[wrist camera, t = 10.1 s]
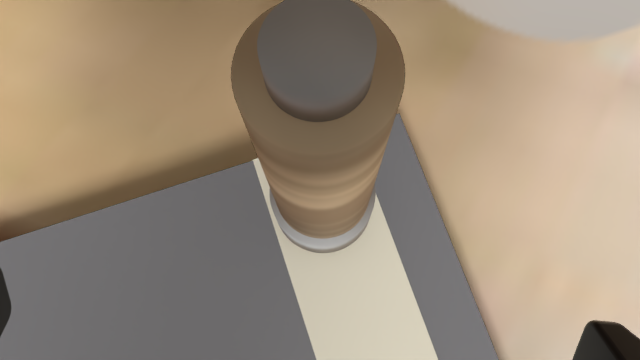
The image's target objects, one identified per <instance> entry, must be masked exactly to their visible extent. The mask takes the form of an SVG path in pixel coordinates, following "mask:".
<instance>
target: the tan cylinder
mask: <svg viewBox="0 0 640 360" xmlns="http://www.w3.org/2000/svg"><path fill="white" fill-rule="evenodd" d="M231 82H232V89H233V93H234V97H235V100H236V103H237V105H238V108H239V110H240V113H241V115H242V118H243V120H244V123H245V126H246V128H247V131H248V133H249V136H250V138H251V141H252V143H253V146H254V148H255V151H256V154H257V156H258V159H259V161H260V164H261V166H262V169H263V171H264V174H265V176H266V179H267V181H268V184H269V187H270V203H271V207H272V210H273V213H274V215H275V217H276V220H277V222H278V224H279V226H280V228H281V230H282V232H283V233H284V234H285V236H286V237H287V238H288V239H289V240H290V241H291V242H292V243H294V244H295V245H297V246H298V247H300V248H302V249H304V250H307V251H310V252H315V253H331V252H335V251H339V250H341V249H344V248H346V247H348V246H349V245H351V244H352V243H353V242H355V241H356V240H357V239H358V238H359V237H360V236H361V234H362V233H363V232H364V230H365V228H366V226H367V224H368V221H369V219H370V216H371V213H372V210H373V208H374V203H375V196H376V191H375V181H376V178H377V174H378V171H379V168H380V165H381V162H382V158H383V155H384V152H385V149H386V145H387V142H388V139H389V136H390V132H391V129H392V126H393V123H394V119H395V116H396V113H397V110H398V107H399V103H400V100H401V97H402V93H403V89H404V83H405V64H404V59H403V54H402V52H401V49H400V46H399V44H398V42H397V40H396V38H395V36H394V34H393V33H392V32H391V30H390V29H389V27H388V26H387V25H386V24H385V23H384V22H383V21H382V20H381V19H380V18H379V17H378V16H377V15H375V14H374V13H373V12H372V11H370V10H368V9H367V8H365V7H364V6H362V5H360V4H357V3H355V2H353V1H350V0H284V1H283V2H281V3H280V4H278V5H276V6H274V7H272V8H270V9H269V10H267V11H266V12H264V13H263V14H262V15H260V16H259V17H258V18H257V19H256V20H255V21H254V22H253V23H252V24H251V25H250V26H249V27H248V29H247V30H246V31H245V33H244V34H243V36H242V37H241V39H240V41H239V43H238V45H237V47H236V50H235V53H234V57H233V61H232V67H231Z"/></svg>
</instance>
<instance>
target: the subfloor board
mask: <svg viewBox="0 0 640 360" xmlns="http://www.w3.org/2000/svg"><path fill="white" fill-rule="evenodd" d="M375 191H376V196H375V203H374V208H373V210H372V213H371V216H370V219H369V221H368V224H367V226H366V228H365V230H364V232H363V233H362V234H361V236H360V237H359V238H358V239H357V240H356V241H355V242H353V243H352V244H351V245H349V246H348V247H346V248H344V249H341V250H339V251H335V252H331V253H315V252H310V251H307V250H304V249H302V248H300V247H298V246H297V245H295V244H294V243H292V242H291V241H290V240H289V239H288V238H287V237H286V236H285V234H284V233H283V232H282V230H281V228H280V226H279V224H278V222H277V220H276V217H275V215H274V213H273V210H272V207H271V203H270V187H269V184H268V181H267V179H266V176H265V174H264V171H263V169H262V166H261V164H260V161H259V159H258V158H256V159H253V161H250V162H247V163H244V164H240V165H237V166H234V167H231V168H228V169H225V170H222V171H219V172H216V173H213V174H209V175H206V176H203V177H200V178H197V179H194V180H191V181H188V182H185V183H182V184H178V185H175V186H172V187H169V188H166V189H163V190H160V191H157V192H154V193H151V194H147V195H144V196H141V197H138V198H135V199H132V200H129V201H126V202H123V203H120V204H116V205H113V206H110V207H107V208H104V209H101V210H98V211H95V212H92V213H89V214H85V215H82V216H79V217H76V218H73V219H70V220H67V221H64V222H61V223H57V224H54V225H51V226H48V227H45V228H42V229H39V230H36V231H33V232H30V233H26V234H23V235H20V236H17V237H14V238H11V239H8V240H5V241H2V242H0V268H1V269H2V272H3V275H4V279H5V282H6V286H7V289H8V293H9V297H10V300H11V315H10V318H9V320H8V323H7V325H6V327H5V329H4V331H3V333H2V335H1V337H0V360H499V359H498V357H497V354H496V352H495V349H494V347H493V344H492V342H491V339H490V337H489V334H488V332H487V329H486V327H485V324H484V322H483V320H482V317H481V315H480V312H479V310H478V307H477V305H476V302H475V300H474V297H473V295H472V292H471V290H470V287H469V285H468V282H467V280H466V277H465V275H464V272H463V270H462V267H461V265H460V263H459V260H458V258H457V255H456V253H455V250H454V248H453V245H452V243H451V240H450V238H449V235H448V233H447V230H446V228H445V225H444V223H443V220H442V218H441V215H440V213H439V210H438V208H437V206H436V203H435V201H434V198H433V196H432V193H431V191H430V188H429V186H428V183H427V181H426V178H425V176H424V173H423V171H422V168H421V166H420V163H419V161H418V158H417V156H416V154H415V151H414V149H413V146H412V144H411V141H410V139H409V136H408V134H407V131H406V129H405V126H404V124H403V121H402V119H401V116H400V114H396V116H395V119H394V123H393V126H392V129H391V132H390V136H389V139H388V142H387V145H386V149H385V152H384V155H383V158H382V162H381V165H380V168H379V171H378V174H377V178H376V181H375Z"/></svg>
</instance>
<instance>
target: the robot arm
mask: <svg viewBox="0 0 640 360" xmlns="http://www.w3.org/2000/svg"><path fill="white" fill-rule="evenodd" d="M10 315H11V300H10V297H9V293H8V289H7V286H6V282H5V279H4V275H3V272H2V269H1V268H0V337H1V335H2V333H3V331H4V329H5V327H6V325H7V323H8V320H9V318H10ZM573 360H640V339H639V338H638V337H636V336H635V335H634V334H633V333H631V332H630V331H629V330H628V329H626V328H625V327H624V326H622V325H621V324H619V323H616V322H608V321H597V320H593V321H590V322H589V323H588V324H587V325H586V326H585V328H584V331H583V334H582V336H581V339H580V341H579V344H578V346H577V349H576V351H575V354H574V357H573Z"/></svg>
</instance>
